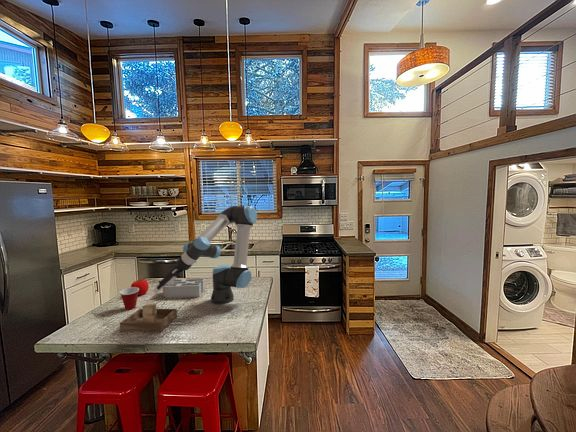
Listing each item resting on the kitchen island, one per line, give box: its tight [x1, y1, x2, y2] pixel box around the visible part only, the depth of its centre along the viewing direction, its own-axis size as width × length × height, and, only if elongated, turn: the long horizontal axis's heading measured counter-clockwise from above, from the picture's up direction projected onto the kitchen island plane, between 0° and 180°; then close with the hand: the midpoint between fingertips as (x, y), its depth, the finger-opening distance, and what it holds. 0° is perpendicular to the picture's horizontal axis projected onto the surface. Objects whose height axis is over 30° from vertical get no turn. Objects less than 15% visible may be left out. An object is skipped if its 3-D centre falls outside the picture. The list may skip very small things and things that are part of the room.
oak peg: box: [141, 302, 158, 322], centre depth 150 cm, size 5×5×10 cm
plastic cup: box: [119, 286, 139, 311], centre depth 172 cm, size 11×11×12 cm
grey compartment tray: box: [162, 278, 206, 299], centre depth 197 cm, size 17×28×9 cm, turn 93°
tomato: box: [130, 279, 150, 296], centre depth 197 cm, size 12×12×11 cm
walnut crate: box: [119, 308, 178, 333], centre depth 150 cm, size 18×22×5 cm
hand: (161, 288), depth 148 cm, fingers open, 13 cm apart
